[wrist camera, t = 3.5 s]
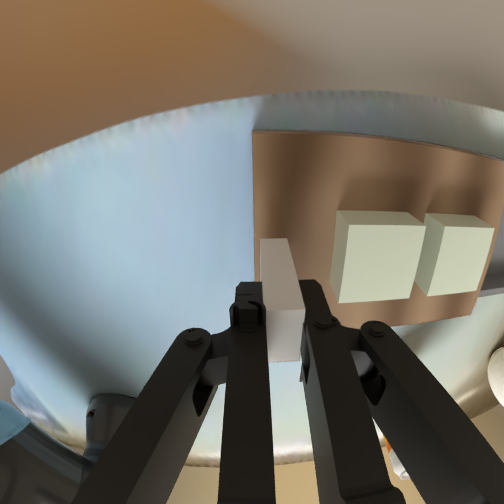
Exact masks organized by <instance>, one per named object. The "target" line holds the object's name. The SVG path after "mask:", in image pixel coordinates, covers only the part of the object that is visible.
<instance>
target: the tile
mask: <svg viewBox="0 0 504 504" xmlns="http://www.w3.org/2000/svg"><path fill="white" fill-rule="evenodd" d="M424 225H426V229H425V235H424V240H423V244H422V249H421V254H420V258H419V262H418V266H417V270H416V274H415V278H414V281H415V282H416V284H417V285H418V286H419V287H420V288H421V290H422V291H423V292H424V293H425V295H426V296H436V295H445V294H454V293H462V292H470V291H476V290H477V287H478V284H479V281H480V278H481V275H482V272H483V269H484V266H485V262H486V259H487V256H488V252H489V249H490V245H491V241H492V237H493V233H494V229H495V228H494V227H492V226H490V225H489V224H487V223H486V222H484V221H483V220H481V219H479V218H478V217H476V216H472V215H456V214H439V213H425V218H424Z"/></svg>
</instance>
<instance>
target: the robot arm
mask: <svg viewBox="0 0 504 504" xmlns="http://www.w3.org/2000/svg"><path fill="white" fill-rule="evenodd" d="M229 312H230V324H231V326H230V327H229V328H228V329H227V330H225V331H223V332H221V333H218V334H213V335H210V333H209V332H208V331H207V330H204V329H201V328H190V329H186V330H184V331H182V332H181V333H180V334H179V335H178V336H177V337H176V339H175V340H174V342H173V343H172V345H171V347H170V348H169V350H168V351H167V353H166V354H165V356H164V357H163V359H162V360H161V362H160V363H159V365H158V366H157V368H156V369H155V371H154V373H153V374H152V376H151V377H150V379H149V380H148V382H147V383H146V385H145V386H144V388H143V389H142V391H141V393H140V394H139V396H138V397H137V399H134V398H130V397H126V396H122V395H115V394H102V395H98V396H96V397H94V398H93V399H92V400H91V403H90V405H89V407H88V410H87V414H86V448H85V451H84V454H83V456H82V455H80V454H79V453H77V452H75V451H74V450H72V449H71V448H69V447H67V446H66V445H64V444H63V443H61V442H60V441H58V440H57V439H56V438H54V437H53V436H51V435H50V434H48V433H47V432H46V431H44V430H43V429H42V428H40V427H39V426H38V425H36V424H35V423H34V422H32V421H31V419H30V418H29V417H26V416H24V415H23V414H22V413H20V412H19V411H17V410H16V409H15V408H14V407H13V406H11V405H10V404H9V403H7V402H5V401H2V400H0V504H166V502H167V500H168V498H169V496H170V494H171V492H172V489H173V487H174V485H175V483H176V481H177V478H178V476H179V474H180V472H181V470H182V468H183V465H184V463H185V461H186V459H187V457H188V454H189V452H190V450H191V448H192V446H193V443H194V441H195V439H196V437H197V434H198V432H199V430H200V428H201V425H202V423H203V421H204V418H205V416H206V414H207V412H208V409H209V407H210V405H211V402H212V400H213V398H214V396H215V393H216V391H217V389H218V385H219V384H223V383H226V390H225V403H224V416H223V430H222V444H221V458H220V473H219V489H218V490H219V491H218V502H217V504H276V497H275V476H274V456H273V437H272V418H271V400H270V383H269V366H268V362H288V361H300V356H301V357H302V366H301V374H300V382H302V379H303V386H304V392H305V399H306V405H307V412H308V419H309V426H310V433H311V440H312V447H313V455H314V462H315V470H316V478H317V486H318V494H319V502H320V504H406V502H405V499H404V496H403V494H402V492H401V491H400V490H399V489H398V488H396V487H394V486H393V485H392V484H391V482H390V479H389V475H388V471H387V467H386V464H385V461H384V457H383V453H382V449H381V446H380V442H379V439H378V435H377V432H376V429H375V425H374V422H373V419H374V420H375V422H376V424H377V425H378V427H379V428H380V430H381V432H382V433H383V435H384V436H385V438H386V440H387V441H388V443H389V444H390V446H391V448H392V449H393V451H394V452H395V454H396V456H397V457H398V459H399V460H400V462H401V464H402V465H403V467H404V469H405V470H406V472H407V473H408V475H409V477H410V478H411V480H412V482H413V483H414V485H415V486H416V488H417V490H418V491H419V493H420V495H421V496H422V498H423V500H424V501H425V503H426V504H504V463H503V462H502V460H501V459H500V458H499V456H498V455H497V454H496V453H495V451H494V450H493V448H492V447H491V446H490V445H489V443H488V442H487V441H486V439H485V438H484V437H483V435H482V434H481V433H480V432H479V430H478V429H477V428H476V427H475V425H474V424H473V423H472V421H471V420H470V419H469V418H468V416H467V415H466V414H465V413H464V412H463V410H462V409H461V408H460V407H459V405H458V404H457V403H456V402H455V401H454V399H453V398H452V397H451V396H450V395H449V393H448V392H447V391H446V390H445V389H444V387H443V386H442V385H441V384H440V383H439V382H438V380H437V379H436V378H435V377H434V376H433V375H432V373H431V372H430V371H429V370H428V369H427V368H426V366H425V365H424V364H423V363H422V362H421V361H420V360H419V359H418V357H417V356H416V355H415V354H414V353H413V352H412V351H411V349H410V348H409V347H408V346H407V345H406V344H405V343H404V342H403V341H402V339H401V338H400V337H399V336H398V335H397V334H396V333H395V332H394V331H393V330H392V328H391V327H390V326H388V325H387V324H386V323H383V322H381V321H375V320H372V321H367V322H365V323H363V324H362V326H361V328H360V329H356V328H349V327H345V326H343V325H341V324H340V322H339V320H338V319H337V318H336V317H334V316H333V315H332V314H331V311H330V308H329V305H328V303H327V300H326V298H325V294H324V292H323V289H322V286H321V284H320V283H318V282H317V281H316V280H315V279H306V280H298V278H297V274H296V270H295V266H294V263H293V259H292V255H291V251H290V247H289V244H288V240H287V238H273V239H260V281H259V282H240V283H239V285H238V286H237V287H236V293H235V302H234V303H233V304H232V305H231V307H230V309H229ZM372 417H373V419H372Z"/></svg>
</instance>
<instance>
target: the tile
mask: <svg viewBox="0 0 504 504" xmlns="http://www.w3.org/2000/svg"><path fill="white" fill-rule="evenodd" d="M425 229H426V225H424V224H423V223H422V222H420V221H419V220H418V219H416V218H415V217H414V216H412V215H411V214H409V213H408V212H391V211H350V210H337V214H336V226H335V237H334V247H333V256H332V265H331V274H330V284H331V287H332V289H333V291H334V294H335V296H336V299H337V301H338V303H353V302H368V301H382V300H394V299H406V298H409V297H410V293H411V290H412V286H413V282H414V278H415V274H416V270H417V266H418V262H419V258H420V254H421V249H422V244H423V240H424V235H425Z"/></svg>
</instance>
